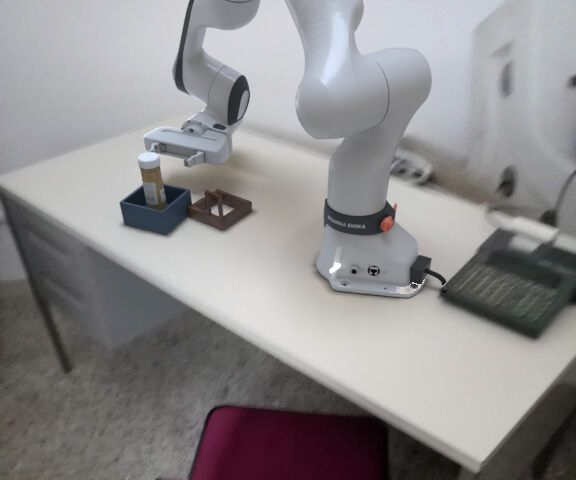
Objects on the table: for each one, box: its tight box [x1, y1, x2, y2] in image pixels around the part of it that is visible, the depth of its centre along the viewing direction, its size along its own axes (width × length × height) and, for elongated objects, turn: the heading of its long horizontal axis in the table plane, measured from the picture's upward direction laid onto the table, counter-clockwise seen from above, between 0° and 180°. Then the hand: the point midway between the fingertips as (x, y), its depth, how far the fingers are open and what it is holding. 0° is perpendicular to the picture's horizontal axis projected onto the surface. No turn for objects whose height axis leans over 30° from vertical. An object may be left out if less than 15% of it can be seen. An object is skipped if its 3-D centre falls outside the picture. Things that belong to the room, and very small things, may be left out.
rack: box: [187, 188, 253, 231], centre depth 133 cm, size 10×10×8 cm
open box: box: [118, 183, 193, 236], centre depth 133 cm, size 11×11×6 cm
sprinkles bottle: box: [137, 151, 167, 211], centre depth 130 cm, size 5×5×13 cm
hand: (168, 159), depth 132 cm, fingers open, 8 cm apart
